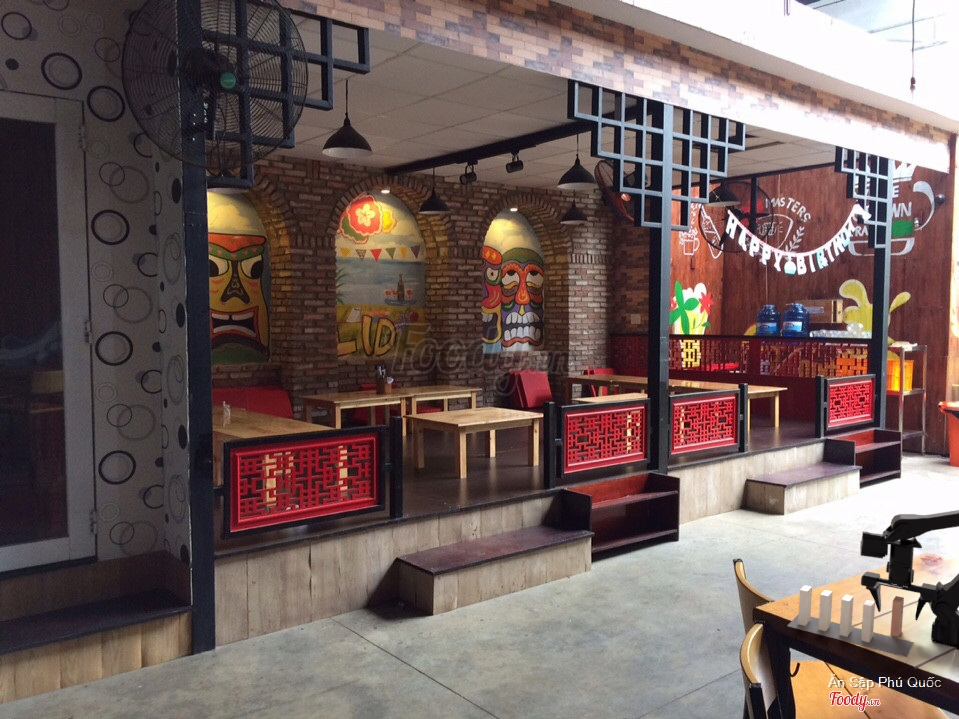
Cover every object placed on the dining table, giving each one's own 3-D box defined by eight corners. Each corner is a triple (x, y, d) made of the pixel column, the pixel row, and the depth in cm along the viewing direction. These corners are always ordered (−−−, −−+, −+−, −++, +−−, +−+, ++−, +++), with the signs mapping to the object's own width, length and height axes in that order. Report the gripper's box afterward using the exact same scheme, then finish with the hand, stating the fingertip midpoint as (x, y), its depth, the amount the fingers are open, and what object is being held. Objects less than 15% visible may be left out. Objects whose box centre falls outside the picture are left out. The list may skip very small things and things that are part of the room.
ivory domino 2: (830, 625, 221) (832, 591, 221) (825, 631, 217) (828, 596, 217) (822, 623, 223) (824, 589, 222) (818, 629, 219) (820, 594, 218)
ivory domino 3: (851, 631, 218) (853, 596, 217) (847, 636, 214) (849, 601, 213) (843, 629, 219) (845, 594, 219) (839, 634, 215) (841, 599, 215)
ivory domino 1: (810, 620, 225) (812, 586, 224) (805, 626, 221) (807, 591, 220) (802, 618, 226) (804, 585, 225) (797, 624, 222) (799, 589, 221)
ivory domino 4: (872, 636, 215) (875, 601, 214) (869, 642, 211) (871, 606, 210) (865, 634, 216) (867, 599, 215) (861, 640, 212) (863, 604, 211)
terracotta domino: (901, 632, 219) (903, 597, 219) (898, 637, 215) (900, 602, 215) (893, 630, 221) (896, 595, 220) (890, 635, 217) (892, 600, 216)
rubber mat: (913, 643, 212) (914, 642, 212) (906, 658, 202) (906, 657, 202) (798, 614, 230) (799, 613, 230) (787, 627, 220) (787, 626, 220)
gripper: (943, 561, 217) (940, 615, 218) (870, 547, 229) (867, 599, 230) (938, 571, 209) (934, 628, 210) (862, 556, 220) (858, 610, 221)
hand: (897, 615), depth 218 cm, fingers open, 9 cm apart
